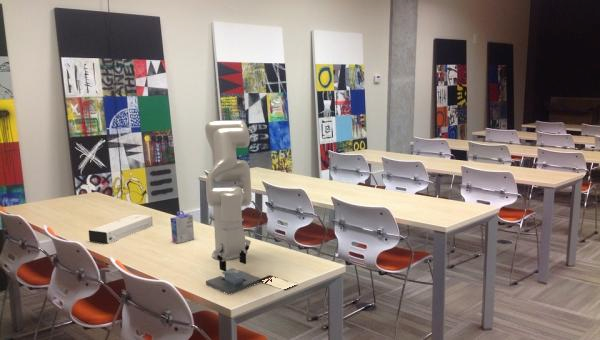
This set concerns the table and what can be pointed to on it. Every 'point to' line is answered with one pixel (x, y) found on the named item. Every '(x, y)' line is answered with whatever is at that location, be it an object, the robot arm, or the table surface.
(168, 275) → the table surface
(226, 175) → the robot arm
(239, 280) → the servo
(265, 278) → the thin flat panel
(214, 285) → the frame
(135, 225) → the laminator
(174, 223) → the ink cartridge box
